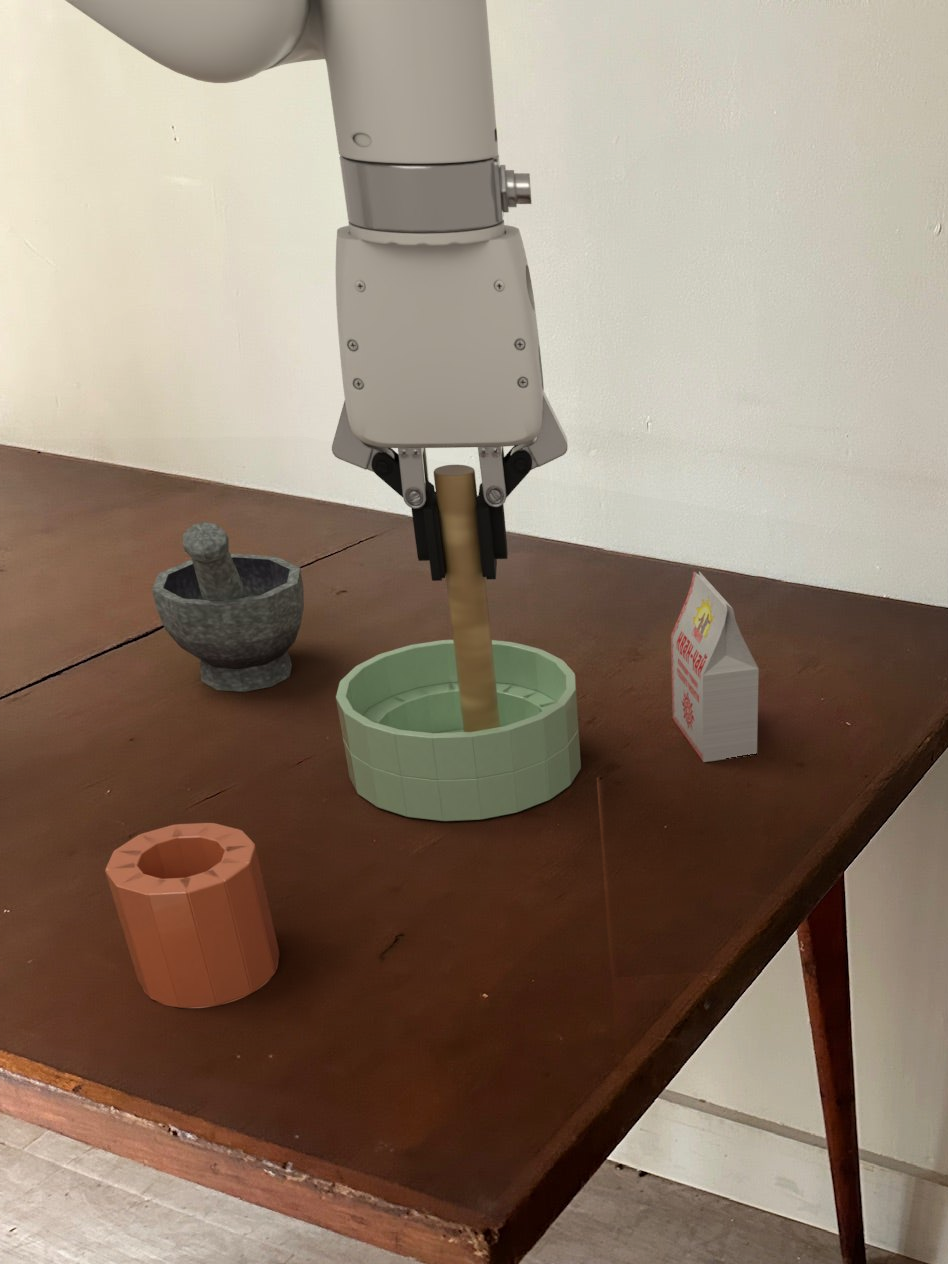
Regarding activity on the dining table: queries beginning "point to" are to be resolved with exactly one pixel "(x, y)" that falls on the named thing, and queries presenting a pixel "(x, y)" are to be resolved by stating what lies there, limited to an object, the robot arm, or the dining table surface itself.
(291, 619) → the mortar and pestle
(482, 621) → the stick
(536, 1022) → the dining table surface
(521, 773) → the bowl
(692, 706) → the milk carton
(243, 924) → the utensil pot
